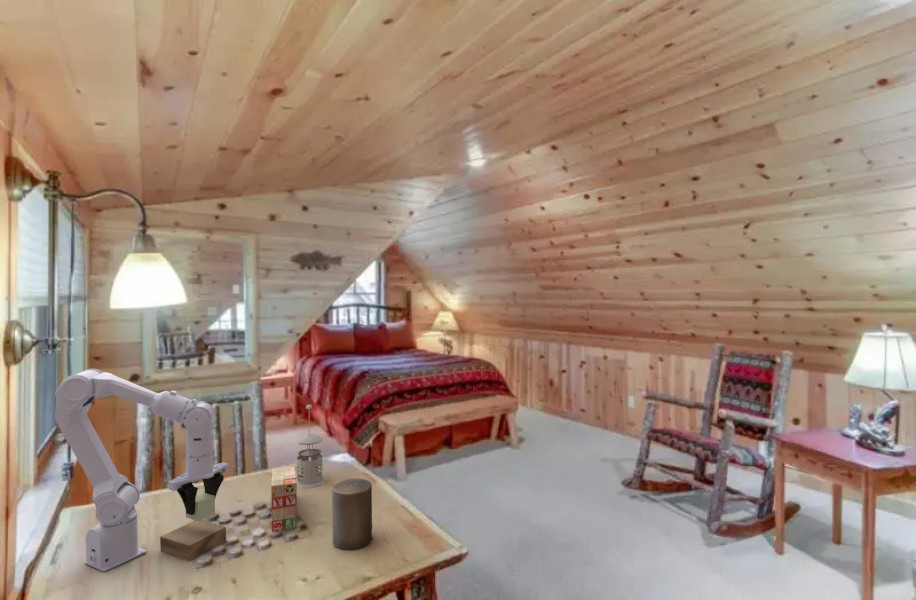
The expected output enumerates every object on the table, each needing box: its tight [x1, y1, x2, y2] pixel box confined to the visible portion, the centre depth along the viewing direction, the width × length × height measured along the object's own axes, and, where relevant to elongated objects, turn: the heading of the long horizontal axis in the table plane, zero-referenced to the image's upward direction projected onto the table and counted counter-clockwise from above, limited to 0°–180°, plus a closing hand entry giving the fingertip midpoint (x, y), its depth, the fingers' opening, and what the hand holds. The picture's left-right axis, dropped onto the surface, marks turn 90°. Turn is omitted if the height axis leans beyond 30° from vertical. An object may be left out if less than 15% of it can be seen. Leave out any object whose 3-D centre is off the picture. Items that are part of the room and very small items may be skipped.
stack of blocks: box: [270, 466, 298, 533], centre depth 141 cm, size 21×6×12 cm, turn 20°
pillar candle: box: [331, 478, 374, 551], centre depth 126 cm, size 10×10×15 cm
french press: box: [295, 404, 326, 489], centre depth 164 cm, size 10×12×25 cm
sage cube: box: [185, 491, 216, 521], centre depth 123 cm, size 4×4×4 cm
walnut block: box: [159, 519, 227, 562], centre depth 123 cm, size 10×10×4 cm
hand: (200, 509), depth 123 cm, fingers closed on sage cube, 4 cm apart
